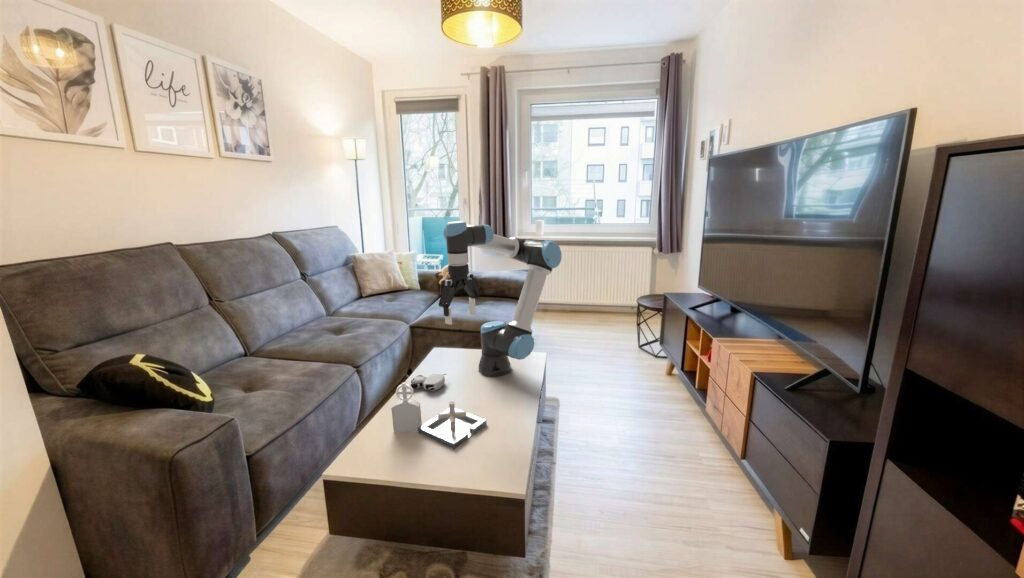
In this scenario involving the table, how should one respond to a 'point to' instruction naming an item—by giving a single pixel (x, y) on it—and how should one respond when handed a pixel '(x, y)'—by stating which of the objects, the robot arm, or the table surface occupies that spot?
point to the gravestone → (406, 411)
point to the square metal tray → (452, 437)
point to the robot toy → (428, 382)
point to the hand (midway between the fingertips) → (461, 319)
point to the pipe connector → (452, 415)
